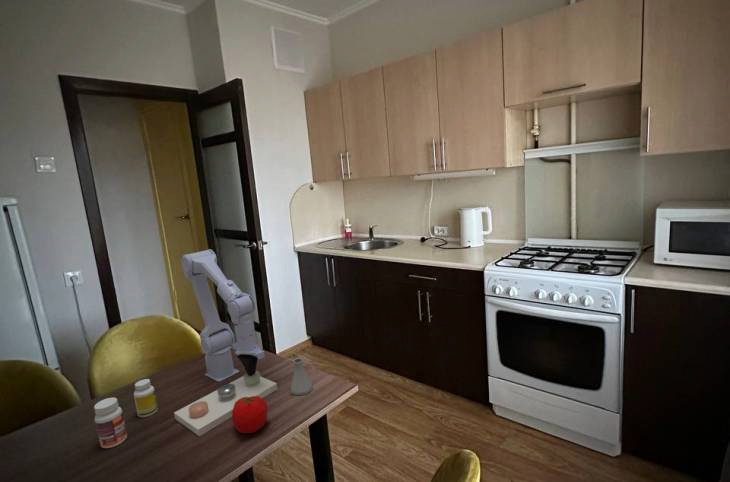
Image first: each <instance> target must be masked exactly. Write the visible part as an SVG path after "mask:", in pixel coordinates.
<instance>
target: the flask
mask: <svg viewBox="0 0 730 482" xmlns="http://www.w3.org/2000/svg"><path fill="white" fill-rule="evenodd" d="M303 363H304V358H303V357H296V358H294V359H293V360H292V364H293V365H294V366H293V367H294V369H293V376H292V381H291V384H290V385H291V386H290V395H294V396H302V395H307V394H309V393H310V392H311V391H312V390H313V383H312V381H311V379H310V378H309V376H308V374H307V372H306V370H305V368H304V364H303Z"/></svg>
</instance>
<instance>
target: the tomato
mask: <svg viewBox="0 0 730 482" xmlns="http://www.w3.org/2000/svg"><path fill="white" fill-rule="evenodd" d="M268 409H269V407H268V404H267V402H266V400H264V398H260V397H259V396H252V397H243V398H242V397H241V399H239V400H237V401H236V402H235V404H234V407H233V410H232V417H231V419H232V420H231V421H232V423H233V424H232V425H233V426H234V427H235V429H236V430H237V431H238V432H239V433H241V434H251V433H255V432H257V431H259V430H260V429H261V428H263V426H264V425H265V423H266V421H267V417H268V416H267V415H268Z"/></svg>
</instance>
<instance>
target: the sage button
mask: <svg viewBox="0 0 730 482" xmlns="http://www.w3.org/2000/svg"><path fill="white" fill-rule="evenodd" d="M243 376H244V382H245V383H246V384H252V383H255V382H257V381H259V380H260V376H261V372H260V371H258V370H256V372H255V374H253V375H252V376H249V375H247V373H246V372H245V374H243Z"/></svg>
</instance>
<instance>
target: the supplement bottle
mask: <svg viewBox="0 0 730 482" xmlns="http://www.w3.org/2000/svg"><path fill="white" fill-rule="evenodd" d="M151 383H152V382H151V380H150V378H145V379H140V380H138V381H136V382H135V384H134V388H135V389H134V393H133V398H134V399H133V400H134V403H135V408H136V413H137V416H138V417H140V418H146V417H149V416H152V415H154V414H155V413H157V411H158V409H159V405H158V401H157V396H156V390H155V387H154V386H153V385H151Z"/></svg>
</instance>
